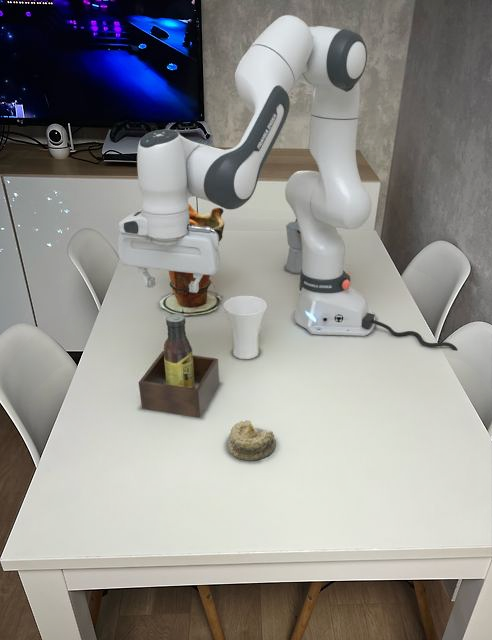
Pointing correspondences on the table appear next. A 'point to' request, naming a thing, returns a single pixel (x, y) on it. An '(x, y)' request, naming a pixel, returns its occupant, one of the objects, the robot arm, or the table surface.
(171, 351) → the sauce bottle
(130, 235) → the robot arm
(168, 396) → the caddy
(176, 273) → the decorative vase
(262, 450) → the cake
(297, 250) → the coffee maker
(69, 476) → the table surface
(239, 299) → the cup
